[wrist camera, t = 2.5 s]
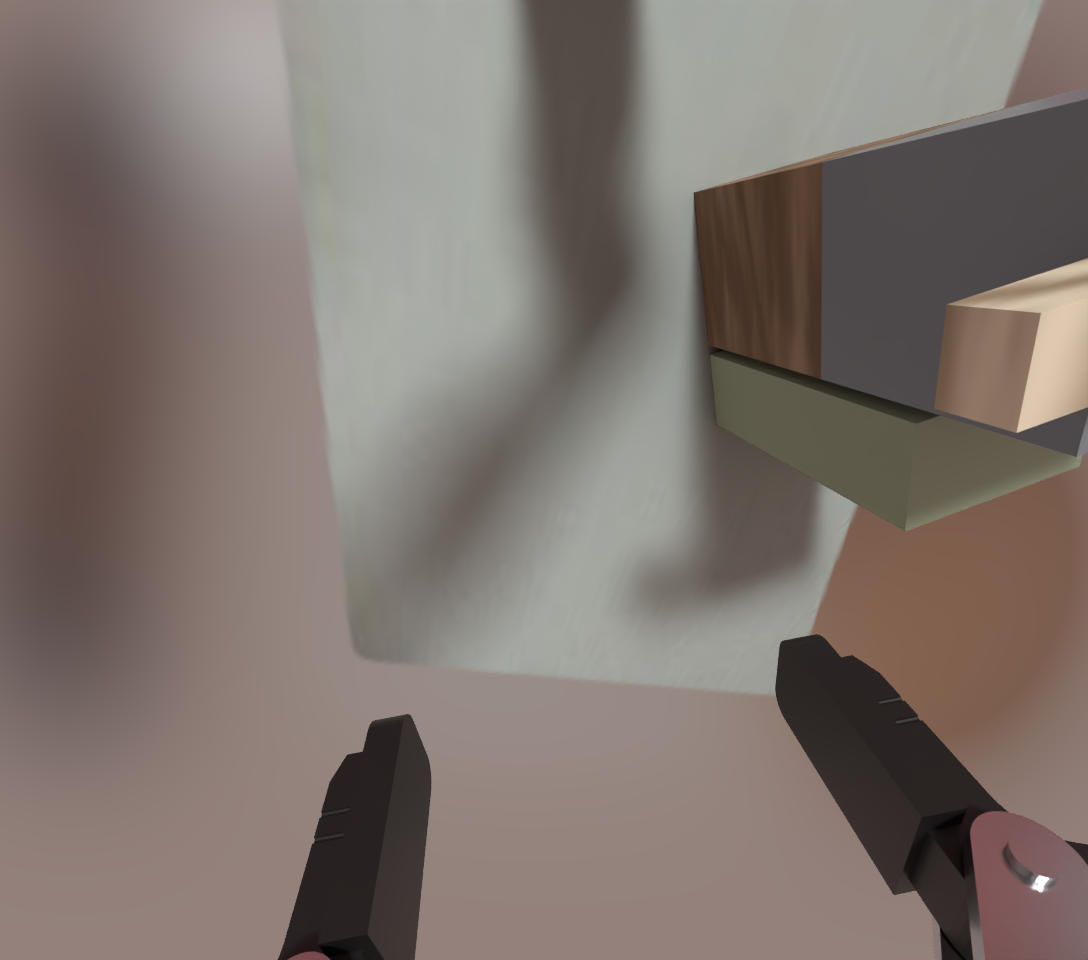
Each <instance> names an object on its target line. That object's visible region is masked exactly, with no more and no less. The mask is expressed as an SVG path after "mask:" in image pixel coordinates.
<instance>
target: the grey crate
mask: <svg viewBox="0 0 1088 960" xmlns="http://www.w3.org/2000/svg"><path fill="white" fill-rule="evenodd" d="M1087 258H1088V88H1084V89H1080V90H1076V91H1072V92H1068V93H1065V94H1060V95H1057V96H1053V97H1049V98H1045V99H1041V100H1037V101H1033V102H1029V103H1025V104H1021V105H1018V106H1014V107H1011V108H1007V109H1004V110H1000V111H997V112H993V113H990V114H986V115H983V116H979V117H976V118H973V119H969V120H966V121H962V122H959V123H955V124H952V125H948V126H945V127H942V128H938V129H935V130H931V131H928V132H924V133H921V134H917V135H914V136H911V137H907V138H904V139H900V140H897V141H893V142H890V143H886V144H883V145H880V146H876V147H873V148H869V149H866V150H862V151H859V152H855V153H852V154H849V155H845V156H842V157H838V158H835V159H831V160H828V161H824V162H823V172H822V312H821V379H822V380H825V381H828V382H832V383H835V384H838V385H842V386H845V387H848V388H851V389H855V390H858V391H861V392H865V393H868V394H871V395H874V396H878V397H881V398H884V399H888V400H891V401H894V402H897V403H901V404H904V405H907V406H911V407H914V408H917V409H920V410H924V411H927V412H930V413H934V414H937V415H940V416H943V417H947V418H950V419H953V420H957V421H960V422H963V423H966V424H970V425H973V426H976V427H980V428H983V429H986V430H989V431H993V432H996V433H999V434H1003V435H1006V436H1009V437H1012V438H1016V439H1019V440H1022V441H1026V442H1029V443H1032V444H1035V445H1039V446H1042V447H1045V448H1049V449H1052V450H1055V451H1058V452H1062V453H1065V454H1068V455H1072V456H1075V457H1078V456H1080V455H1083V454H1085V453H1088V407H1087V408H1084V409H1082V410H1079V411H1076V412H1073V413H1070V414H1068V415H1065V416H1062V417H1059V418H1057V419H1054V420H1051V421H1048V422H1046V423H1043V424H1040V425H1037V426H1034V427H1032V428H1029V429H1026V430H1023V431H1021V432H1018V433H1015V432H1012V431H1008V430H1005V429H1001V428H998V427H995V426H991V425H988V424H984V423H981V422H978V421H974V420H971V419H967V418H964V417H961V416H957V415H954V414H950V413H947V412H944V411H940V410H937V409H934V406H935V398H936V390H937V381H938V373H939V364H940V356H941V348H942V339H943V331H944V322H945V314H946V306H947V304H950V303H953V302H956V301H959V300H962V299H965V298H968V297H971V296H974V295H977V294H980V293H983V292H986V291H990V290H993V289H996V288H999V287H1002V286H1005V285H1008V284H1011V283H1014V282H1017V281H1020V280H1023V279H1026V278H1029V277H1032V276H1035V275H1038V274H1041V273H1044V272H1047V271H1050V270H1053V269H1057V268H1060V267H1063V266H1066V265H1069V264H1072V263H1075V262H1078V261H1081V260H1084V259H1087Z"/></svg>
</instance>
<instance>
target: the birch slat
mask: <svg viewBox="0 0 1088 960" xmlns="http://www.w3.org/2000/svg"><path fill="white" fill-rule="evenodd" d="M1087 407H1088V258H1087V259H1084V260H1081V261H1078V262H1075V263H1072V264H1069V265H1066V266H1063V267H1060V268H1057V269H1053V270H1050V271H1047V272H1044V273H1041V274H1038V275H1035V276H1032V277H1029V278H1026V279H1023V280H1020V281H1017V282H1014V283H1011V284H1008V285H1005V286H1002V287H999V288H996V289H993V290H990V291H986V292H983V293H980V294H977V295H974V296H971V297H968V298H965V299H962V300H959V301H956V302H953V303H950V304H947V306H946V314H945V322H944V331H943V339H942V348H941V356H940V364H939V373H938V381H937V390H936V398H935V406H934V409H937V410H940V411H944V412H947V413H950V414H954V415H957V416H961V417H964V418H967V419H971V420H974V421H978V422H981V423H984V424H988V425H991V426H995V427H998V428H1001V429H1005V430H1008V431H1012V432H1015V433H1018V432H1021V431H1023V430H1026V429H1029V428H1032V427H1034V426H1037V425H1040V424H1043V423H1046V422H1048V421H1051V420H1054V419H1057V418H1059V417H1062V416H1065V415H1068V414H1070V413H1073V412H1076V411H1079V410H1082V409H1084V408H1087Z"/></svg>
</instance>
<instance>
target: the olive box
mask: <svg viewBox="0 0 1088 960" xmlns="http://www.w3.org/2000/svg"><path fill="white" fill-rule="evenodd" d="M710 362H711V372H712V383H713V393H714V403H715V414H716V424H717V425H718V426H720V427H722V428H723V429H725V430H727V431H729V432H730V433H732V434H734V435H736V436H737V437H739V438H741V439H743V440H745V441H746V442H748V443H750V444H752V445H753V446H755V447H757V448H759V449H760V450H762V451H764V452H766V453H767V454H769V455H771V456H773V457H775V458H776V459H778V460H780V461H782V462H783V463H785V464H787V465H789V466H790V467H792V468H794V469H796V470H798V471H799V472H801V473H803V474H805V475H806V476H808V477H810V478H812V479H813V480H815V481H817V482H819V483H820V484H822V485H824V486H826V487H828V488H829V489H831V490H833V491H835V492H836V493H838V494H840V495H842V496H843V497H845V498H847V499H849V500H851V501H852V502H854V503H856V504H858V505H859V506H861V507H863V508H865V509H867V510H868V511H870V512H872V513H874V514H875V515H877V516H879V517H881V518H882V519H884V520H886V521H888V522H889V523H891V524H893V525H895V526H897V527H898V528H900V529H902V530H904V531H907V530H910V529H912V528H916V527H918V526H921V525H924V524H926V523H929V522H931V521H934V520H937V519H940V518H942V517H945V516H948V515H950V514H953V513H955V512H958V511H961V510H964V509H966V508H969V507H972V506H974V505H977V504H980V503H982V502H985V501H988V500H990V499H993V498H996V497H998V496H1001V495H1004V494H1007V493H1009V492H1012V491H1015V490H1017V489H1020V488H1023V487H1025V486H1028V485H1030V484H1033V483H1036V482H1038V481H1041V480H1044V479H1046V478H1049V477H1052V476H1054V475H1057V474H1060V473H1063V472H1065V471H1068V470H1071V469H1073V468H1076V467H1079V466H1080V462H1081V459H1082V455H1080V456H1078V457H1075V456H1072V455H1068V454H1065V453H1062V452H1058V451H1055V450H1052V449H1049V448H1045V447H1042V446H1039V445H1035V444H1032V443H1029V442H1026V441H1022V440H1019V439H1016V438H1012V437H1009V436H1006V435H1003V434H999V433H996V432H993V431H989V430H986V429H983V428H980V427H976V426H973V425H970V424H966V423H963V422H960V421H957V420H953V419H950V418H947V417H943V416H940V415H937V414H934V413H930V412H927V411H924V410H920V409H917V408H914V407H911V406H907V405H904V404H901V403H897V402H894V401H891V400H888V399H884V398H881V397H878V396H874V395H871V394H868V393H865V392H861V391H858V390H855V389H851V388H848V387H845V386H842V385H838V384H835V383H832V382H828V381H825V380H822V379H819V378H815V377H812V376H809V375H805V374H802V373H799V372H796V371H792V370H789V369H786V368H782V367H779V366H776V365H773V364H769V363H766V362H763V361H759V360H756V359H753V358H750V357H746V356H743V355H740V354H736V353H733V352H730V351H727V350H723V351H719V352H716V353H713V354H710Z"/></svg>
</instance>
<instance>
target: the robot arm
mask: <svg viewBox="0 0 1088 960" xmlns="http://www.w3.org/2000/svg"><path fill="white" fill-rule="evenodd" d="M775 690H776V697H777V701H778V705H779V708H780V710H781V712H782V715H783V717H784V718H785V720H786V722H787V723H788V725H789V727H790V728H791V730H792V731H793V733H794V735H795V736H796V738H797V740H798V741H799V743H800V744H801V746H802V747H803V749H804V751H805V752H806V754H807V756H808V757H809V759H810V760H811V762H812V764H813V765H814V767H815V769H816V770H817V772H818V773H819V775H820V777H821V778H822V780H823V781H824V783H825V785H826V786H827V788H828V789H829V791H830V793H831V794H832V796H833V798H834V799H835V801H836V803H837V804H838V806H839V807H840V809H841V811H842V812H843V814H844V815H845V817H846V818H847V820H848V822H849V823H850V825H851V827H852V828H853V830H854V832H855V833H856V835H857V836H858V838H859V840H860V841H861V843H862V844H863V846H864V848H865V849H866V851H867V853H868V854H869V856H870V857H871V859H872V860H873V862H874V864H875V865H876V867H877V869H878V870H879V872H880V873H881V875H882V877H883V878H884V880H885V882H886V883H887V885H888V886H889V888H890V890H891V891H892V893H893V894H894V895H897V894H901V893H906V892H911V891H917V892H918V894H919V896H920V897H921V898H922V900H923V902H924V903H925V905H926V906H927V908H928V909H929V911H930V912H931V914H932V930H933V947H934V960H1088V845H1087V844H1081V843H1075V842H1069V841H1065V840H1063V839H1062V838H1060V837H1059V836H1058V835H1056V834H1055V833H1054V832H1052V831H1051V830H1049V829H1047V828H1046V827H1044V826H1043V825H1040V824H1039V823H1037V822H1035V821H1033V820H1031V819H1028V818H1026V817H1023V816H1020V815H1017V814H1014V813H1009V812H1008V811H1006V810H1005V809H1004V808H1003V807H1002V806H1001V805H999V804H998V803H997V802H996V801H995V800H994V799H993V798H992V797H991V796H990V795H989V794H988V793H987V791H986V790H985V789H984V788H983V787H982V786H981V785H980V784H979V783H978V781H977V780H976V779H975V778H974V777H973V776H972V775H971V774H970V773H969V772H968V770H967V769H966V768H965V767H964V766H963V765H962V764H961V763H960V762H959V761H958V759H957V758H956V757H955V756H954V755H953V754H952V753H951V752H950V750H949V749H948V748H947V747H946V746H945V745H944V744H943V743H942V742H941V740H940V739H939V738H938V737H937V736H936V735H935V734H934V733H933V732H932V730H931V729H930V728H929V727H928V726H927V725H926V724H925V723H924V722H923V721H920V720H919V718H918V715H917V714H916V713H915V712H914V711H913V709H912V708H911V707H910V706H909V705H908V704H907V703H906V702H905V701H902V699H901V697H900V695H899V694H898V693H897V692H896V691H895V689H894V688H893V687H892V686H891V685H890V684H889V683H888V682H887V681H886V680H885V678H884V677H883V676H882V675H881V674H880V673H879V672H877V671H876V670H874V669H873V668H871V667H870V666H868V665H867V664H865V663H863V662H862V661H860V660H859V659H857V658H856V657H854V656H852V655H851V656H846V657H840V656H839V655H838V653H837V652H836V651H835V650H834V649H833V648H832V646H831V645H830V644H829V643H828V642H827V641H826V639H825V638H823V637H822V636H820V635H818V634H816V635H810V636H805V637H800V638H795V639H789V640H784V641H782V642H781V644H780V647H779V657H778V667H777V677H776V688H775ZM430 796H431V771H430V764H429V759H428V756H427V754H426V751H425V749H424V746H423V744H422V741H421V739H420V736H419V734H418V731H417V729H416V726H415V724H414V721H413V719H412V717H411V715H409V714H406V715H401V716H396V717H390V718H385V719H380V720H375V721H373V722H372V723H371V724H370V726H369V729H368V733H367V737H366V741H365V745H364V749H363V752H360V753H354V754H349V755H347V756H346V758H345V759H344V761H343V762H342V764H341V765H340V767H339V769H338V770H337V772H336V773H335V775H334V777H333V778H332V779H331V781H330V783H329V787H328V790H327V794H326V797H325V801H324V804H323V808H322V817H321V818H320V819H319V822H318V826H317V829H316V833H315V836H314V838H315V841H314V844H312V847H311V851H310V854H309V858H308V861H307V864H306V868H305V871H304V875H303V878H302V882H301V885H300V889H299V893H298V896H297V900H296V903H295V906H294V910H293V913H292V917H291V920H290V924H289V928H288V931H287V935H286V938H285V942H284V945H283V948H282V951H281V953H280V956H279V958H278V960H414V959H415V949H416V939H417V929H418V917H419V908H420V898H421V888H422V878H423V867H424V856H425V846H426V837H427V826H428V816H429V806H430Z"/></svg>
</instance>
